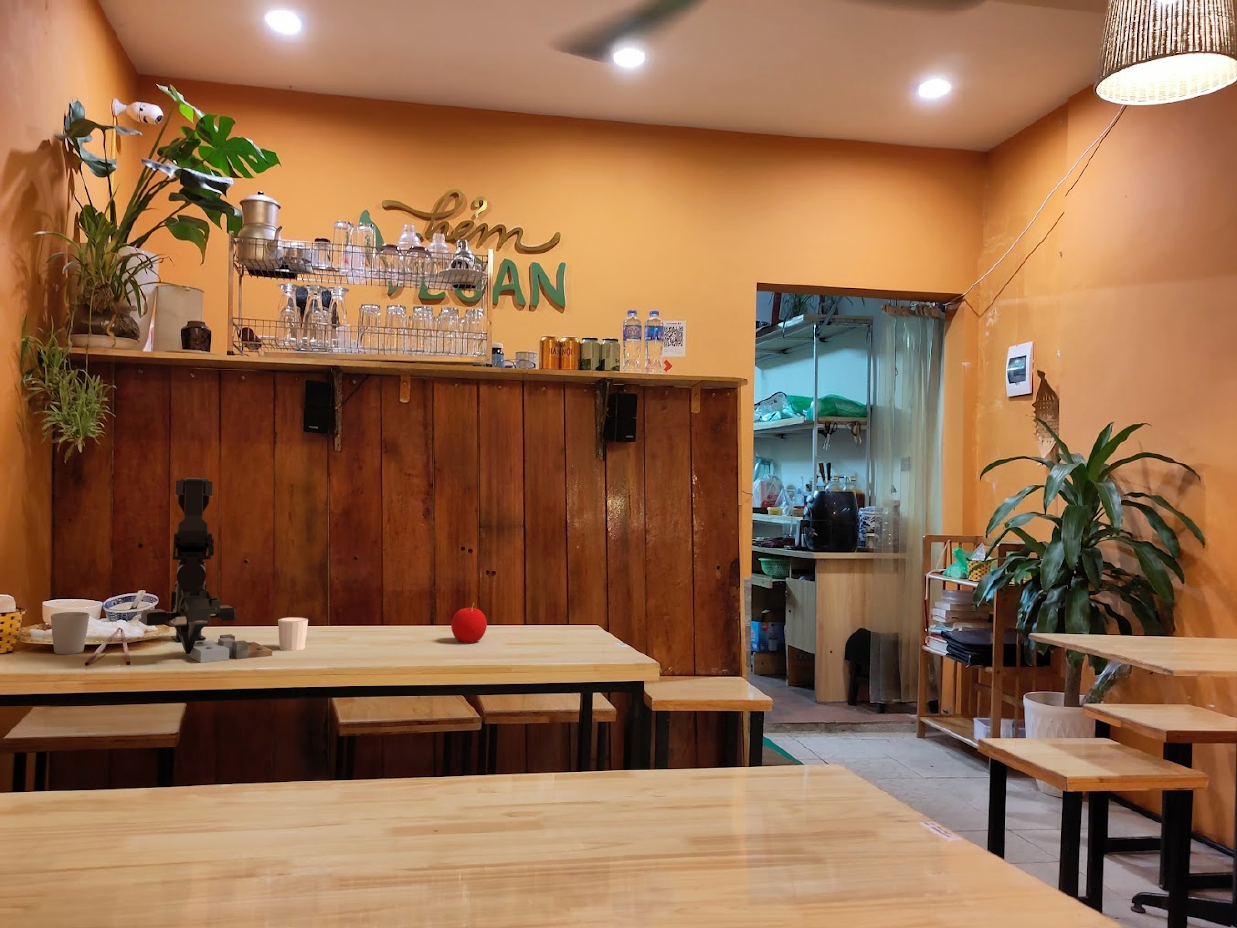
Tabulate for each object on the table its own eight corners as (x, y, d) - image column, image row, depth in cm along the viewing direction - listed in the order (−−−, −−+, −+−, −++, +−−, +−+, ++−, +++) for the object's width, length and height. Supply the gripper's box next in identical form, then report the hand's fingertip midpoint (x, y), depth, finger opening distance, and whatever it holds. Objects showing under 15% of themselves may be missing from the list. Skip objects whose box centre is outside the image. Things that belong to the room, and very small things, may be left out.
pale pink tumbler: (311, 646, 229) (313, 617, 229) (299, 651, 222) (300, 622, 222) (284, 644, 230) (285, 616, 230) (271, 650, 223) (272, 620, 223)
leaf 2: (236, 659, 212) (237, 643, 212) (219, 650, 221) (219, 635, 221) (272, 655, 217) (272, 640, 217) (253, 646, 226) (254, 632, 226)
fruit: (483, 645, 238) (484, 605, 238) (447, 644, 238) (449, 604, 238) (488, 638, 247) (490, 600, 247) (454, 637, 247) (455, 599, 247)
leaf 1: (200, 662, 207) (201, 646, 207) (185, 653, 216) (185, 638, 216) (240, 658, 212) (240, 643, 212) (223, 649, 221) (223, 634, 221)
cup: (45, 655, 208) (46, 617, 208) (56, 647, 218) (58, 610, 218) (84, 654, 211) (85, 616, 211) (93, 646, 220) (95, 609, 220)
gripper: (155, 590, 199) (151, 664, 199) (245, 586, 211) (242, 656, 211) (141, 584, 207) (138, 655, 207) (229, 580, 219) (226, 647, 219)
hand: (187, 653), depth 211 cm, fingers closed
